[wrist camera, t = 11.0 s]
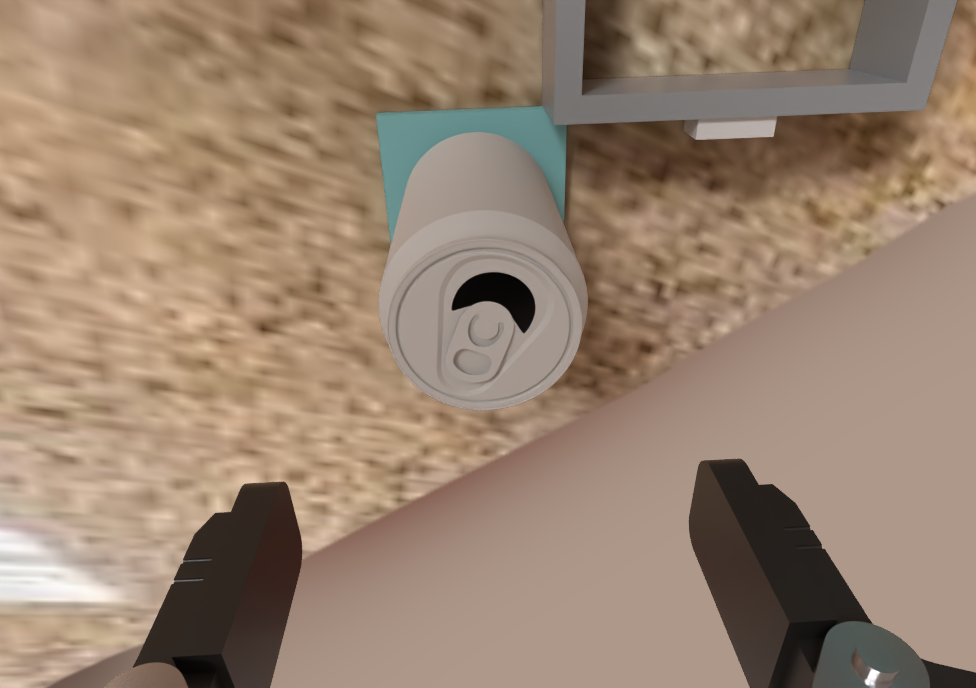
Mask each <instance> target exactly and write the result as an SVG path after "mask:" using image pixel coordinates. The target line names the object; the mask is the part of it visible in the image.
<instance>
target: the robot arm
mask: <svg viewBox="0 0 976 688" xmlns="http://www.w3.org/2000/svg"><path fill="white" fill-rule="evenodd" d="M689 532H690V538H691V543H692V546H693V549H694V552H695V554H696V557H697V559H698V562H699V564H700V566H701V569H702V572H703V574H704V576H705V579H706V581H707V584H708V586H709V589H710V591H711V594H712V596H713V598H714V601H715V603H716V606H717V608H718V611H719V613H720V615H721V618H722V620H723V623H724V625H725V628H726V630H727V633H728V635H729V638H730V640H731V642H732V645H733V647H734V650H735V652H736V655H737V657H738V660H739V662H740V664H741V667H742V669H743V672H744V674H745V677H746V679H747V682H748V684H749V686H750V688H976V673H974V672H971V671H966V670H962V669H957V668H953V667H949V666H944V665H940V664H936V663H933V662H929V661H926V660H923V659H921V658H920V657H919V656H918V655H917V654H916V652H915V651H914V650H913V649H912V648H911V647H910V646H909V645H908V644H907V643H906V642H904V641H903V640H902V639H901V638H899V637H898V636H896V635H895V634H893V633H891V632H890V631H888V630H886V629H884V628H881V627H879V626H876V625H874V624H872V622H871V621H870V619H869V618H868V617H867V615H866V614H865V612H864V610H863V609H862V607H861V605H860V604H859V602H858V601H857V599H856V598H855V596H854V595H853V593H852V591H851V590H850V588H849V587H848V585H847V583H846V582H845V580H844V579H843V577H842V576H841V574H840V572H839V571H838V569H837V568H836V566H835V565H834V563H833V562H832V560H831V558H830V557H829V555H828V553H827V552H826V550H825V549H822V546H821V545H822V544H821V542H820V541H819V539H818V538H817V536H816V535H815V533H814V531H813V530H810V525H809V524H808V522H807V521H806V519H805V517H804V516H803V514H802V513H801V511H800V509H799V508H798V506H797V505H796V503H795V502H793V501H792V500H791V499H790V498H789V497H787V496H786V495H785V494H784V493H782V492H781V491H780V490H779V489H778V488H776V487H775V486H774V485H773V484H768V485H758V483H757V481H756V480H755V478H754V476H753V474H752V473H751V471H750V469H749V467H748V466H747V464H746V463H745V462H744V461H743V460H742V459H725V460H706V461H701V462H700V464H699V466H698V471H697V476H696V482H695V487H694V493H693V499H692V504H691V510H690V515H689ZM301 562H302V541H301V535H300V531H299V527H298V523H297V519H296V515H295V511H294V508H293V504H292V500H291V496H290V492H289V488H288V486H287V484H286V483H285V482H268V483H249V484H244V485H243V486H242V487H241V489H240V491H239V494H238V496H237V499H236V501H235V503H234V506H233V508H232V511H231V512H224V513H215V514H214V515H213V516H212V517H211V518H210V519H209V520H208V521H207V522H206V523H205V524H204V525H203V526H202V527H201V528H200V529H199V530H198V531H197V533H196V534H195V535H194V537H193V539H192V541H191V543H190V545H189V548H188V550H187V552H186V554H185V556H184V558H183V564H181V565H180V567H179V569H178V571H177V574H176V576H175V578H174V584H172V585H171V587H170V589H169V591H168V593H167V595H166V598H165V600H164V602H163V604H162V606H161V608H160V611H159V613H158V615H157V617H156V619H155V621H154V624H153V626H152V628H151V630H150V632H149V635H148V637H147V639H146V641H145V643H144V645H143V648H142V650H141V652H140V654H139V656H138V658H137V660H136V662H135V664H134V666H133V668H131V669H129V670H127V671H125V672H123V673H122V674H120V675H119V676H117V677H115V678H114V679H113V680H112V681H110V682H109V683H108V684H107V685H106V686H105V687H104V688H270V686H271V682H272V678H273V674H274V670H275V666H276V662H277V658H278V655H279V650H280V646H281V643H282V639H283V635H284V631H285V627H286V623H287V619H288V616H289V612H290V608H291V604H292V600H293V596H294V592H295V588H296V585H297V580H298V577H299V573H300V568H301Z"/></svg>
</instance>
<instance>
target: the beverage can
mask: <svg viewBox="0 0 976 688" xmlns="http://www.w3.org/2000/svg"><path fill="white" fill-rule="evenodd" d="M378 307H379V318H380V323H381V327H382V330H383V333H384V336H385V338H386V341H387V343H388V345H389V347H390V350H391V353H392V355H393V357H394V360H395V362H396V363H397V365H398V367H399V368H400V370H401V371H402V373H403V374H404V375H405V376H406V377H407V379H408V380H409V381H410V382H411V383H412V384H413V385H415V386H416V387H417V388H418V389H419V390H421V391H422V392H423V393H425V394H426V395H428V396H430V397H432V398H434V399H435V400H437V401H440V402H442V403H445V404H448V405H450V406H454V407H458V408H463V409H469V410H495V409H502V408H507V407H511V406H515V405H518V404H521V403H524V402H526V401H528V400H530V399H532V398H534V397H536V396H538V395H540V394H541V393H543V392H544V391H546V390H547V389H548V388H550V387H551V386H552V385H553V384H554V383H555V382H556V381H557V380H558V379H559V378H560V377H561V376H562V375H563V374H564V373H565V371H566V370H567V369H568V367H569V366H570V364H571V362H572V361H573V359H574V357H575V355H576V352H577V350H578V347H579V344H580V339H581V334H582V332H583V329H584V326H585V322H586V317H587V311H588V293H587V287H586V282H585V278H584V275H583V272H582V270H581V267H580V265H579V262H578V260H577V257H576V254H575V252H574V249H573V247H572V244H571V242H570V239H569V236H568V234H567V231H566V229H565V226H564V224H563V221H562V218H561V216H560V213H559V211H558V208H557V206H556V203H555V201H554V198H553V195H552V193H551V190H550V188H549V185H548V183H547V180H546V178H545V175H544V173H543V171H542V169H541V167H540V166H539V165H538V163H537V162H536V161H535V159H534V158H533V157H532V156H531V155H530V153H529V152H528V151H526V150H525V149H524V148H523V147H521V146H520V145H519V144H517V143H515V142H514V141H512V140H510V139H508V138H505V137H503V136H500V135H496V134H492V133H485V132H470V133H463V134H459V135H455V136H452V137H449V138H447V139H445V140H443V141H441V142H439V143H438V144H436V145H435V146H433V147H432V148H431V149H430V150H428V151H427V152H426V153H425V154H424V155H423V156H422V157H421V159H420V160H419V161H418V162H417V164H416V166H415V167H414V169H413V170H412V172H411V175H410V177H409V179H408V182H407V185H406V189H405V193H404V197H403V201H402V205H401V208H400V212H399V216H398V220H397V224H396V228H395V231H394V235H393V239H392V243H391V247H390V251H389V255H388V258H387V262H386V266H385V270H384V274H383V278H382V282H381V286H380V292H379V302H378Z"/></svg>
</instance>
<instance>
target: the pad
mask: <svg viewBox="0 0 976 688" xmlns="http://www.w3.org/2000/svg"><path fill="white" fill-rule="evenodd" d="M376 119H377V128H378V136H379V145H380V154H381V162H382V171H383V180H384V188H385V197H386V206H387V215H388V223H389V232H390V241H391V243H392V239H393V235H394V231H395V228H396V224H397V220H398V216H399V212H400V208H401V205H402V201H403V197H404V193H405V189H406V185H407V182H408V179H409V177H410V175H411V172H412V170H413V169H414V167H415V166H416V164H417V162H418V161H419V160H420V159H421V157H422V156H423V155H424V154H425V153H426V152H427V151H428V150H430V149H431V148H432V147H433V146H435V145H436V144H438V143H439V142H441V141H443V140H445V139H447V138H449V137H452V136H455V135H459V134H463V133H470V132H485V133H492V134H496V135H500V136H503V137H505V138H508V139H510V140H512V141H514V142H515V143H517V144H519V145H520V146H521V147H523V148H524V149H525V150H526V151H528V152H529V153H530V155H531V156H532V157H533V158H534V159H535V161H536V162H537V163H538V165H539V166H540V167H541V169H542V171H543V173H544V175H545V178H546V180H547V183H548V185H549V188H550V190H551V193H552V195H553V198H554V201H555V203H556V206H557V208H558V211H559V213H560V216H561V218H562V221H563V224H564V204H565V170H566V136H567V125H553V123H552V122H551V120H550V118H549V117H548V115H547V113H546V112H545V110H544V109H543V107H542V106H532V107H508V108H483V109H458V110H433V111H408V112H384V113H377V115H376Z"/></svg>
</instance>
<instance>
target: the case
mask: <svg viewBox="0 0 976 688" xmlns="http://www.w3.org/2000/svg"><path fill="white" fill-rule="evenodd" d="M956 3H957V0H865V3H864V7H863V11H862V16H861V20H860V24H859V29H858V33H857V37H856V41H855V46H854V50H853V54H852V59H851V63H850V67H849V69H833V70H808V71H782V72H757V73H732V74H707V75H681V76H656V77H631V78H606V79H582V74H583V49H584V24H585V0H543V50H542V107H543V109H544V110H545V112H546V113H547V115H548V117H549V118H550V120H551V122H552V123H553V125H572V124H596V123H621V122H645V121H670V120H684V129H683V131H684V132H685V133H687V134H688V135H689V136H691V137H692V138H694V139H695V140H707V139H731V138H755V137H774V131H775V126H776V121H777V116H792V115H817V114H841V113H866V112H890V111H915V110H925V107H926V104H927V101H928V97H929V94H930V91H931V87H932V84H933V81H934V77H935V74H936V71H937V67H938V64H939V60H940V57H941V54H942V50H943V47H944V44H945V40H946V37H947V34H948V30H949V27H950V23H951V20H952V17H953V13H954V10H955V7H956Z"/></svg>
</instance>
